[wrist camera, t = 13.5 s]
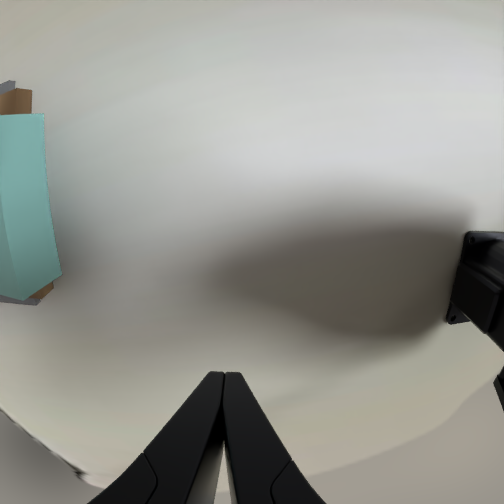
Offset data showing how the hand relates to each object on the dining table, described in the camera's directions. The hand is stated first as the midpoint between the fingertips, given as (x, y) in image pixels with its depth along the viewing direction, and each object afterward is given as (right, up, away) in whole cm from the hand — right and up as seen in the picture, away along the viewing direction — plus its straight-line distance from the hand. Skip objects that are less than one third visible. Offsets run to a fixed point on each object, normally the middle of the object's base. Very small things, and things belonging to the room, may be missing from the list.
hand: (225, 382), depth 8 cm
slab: (-9, +6, +3) cm, 11 cm away
